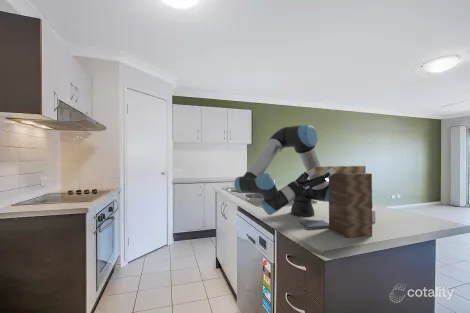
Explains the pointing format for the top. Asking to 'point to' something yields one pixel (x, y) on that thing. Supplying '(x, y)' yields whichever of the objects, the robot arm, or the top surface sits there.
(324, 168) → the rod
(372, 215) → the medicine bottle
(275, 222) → the top surface
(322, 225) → the mat
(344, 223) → the stand
